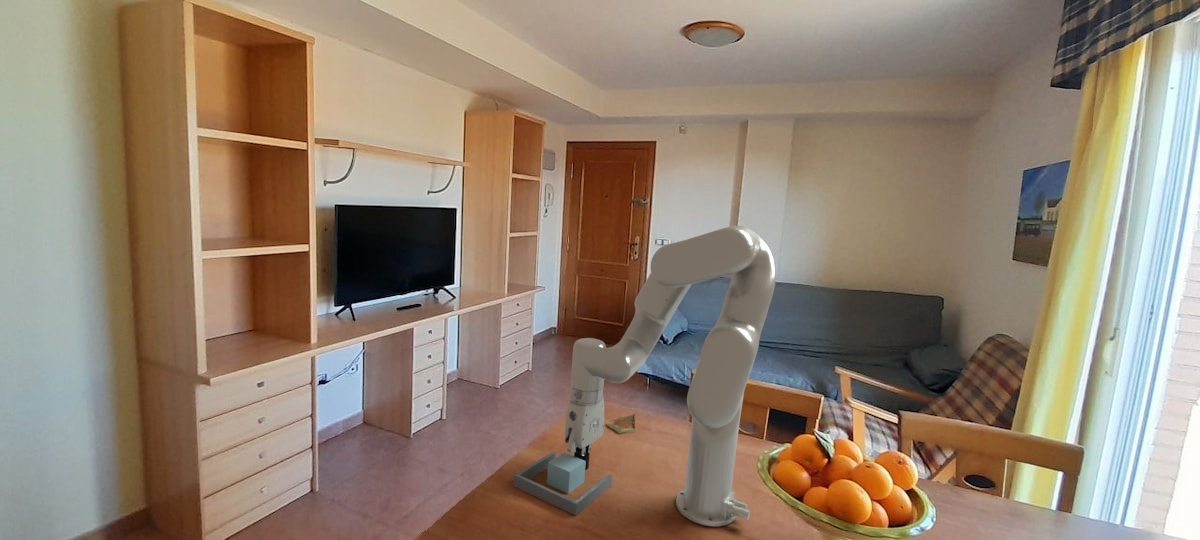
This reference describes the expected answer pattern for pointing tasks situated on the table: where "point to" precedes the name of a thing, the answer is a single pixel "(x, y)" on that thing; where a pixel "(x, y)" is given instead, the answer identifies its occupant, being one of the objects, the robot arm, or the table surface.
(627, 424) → the shard
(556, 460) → the teal block
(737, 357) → the robot arm
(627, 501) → the table surface
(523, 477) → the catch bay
